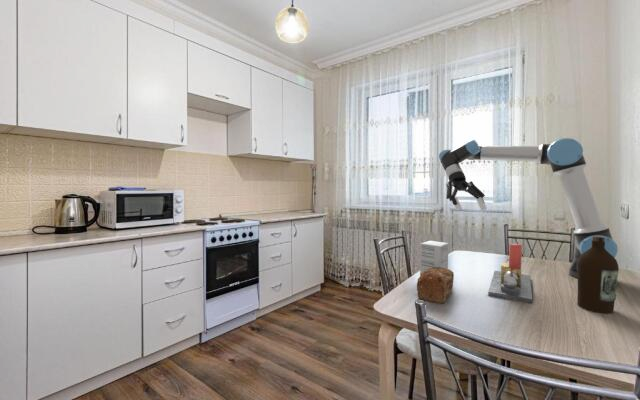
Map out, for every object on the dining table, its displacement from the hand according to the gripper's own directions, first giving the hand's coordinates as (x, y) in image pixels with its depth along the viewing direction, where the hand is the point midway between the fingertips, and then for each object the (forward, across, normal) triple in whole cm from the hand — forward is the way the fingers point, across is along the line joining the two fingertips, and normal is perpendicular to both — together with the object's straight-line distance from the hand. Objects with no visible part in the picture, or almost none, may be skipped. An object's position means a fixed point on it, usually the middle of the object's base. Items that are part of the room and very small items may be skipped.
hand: (472, 210), depth 145 cm
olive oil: (+52, -14, +17) cm, 56 cm away
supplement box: (+27, +22, -16) cm, 39 cm away
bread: (+37, +32, -3) cm, 49 cm away
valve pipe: (+36, -4, -3) cm, 37 cm away
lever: (+30, 0, +7) cm, 31 cm away
